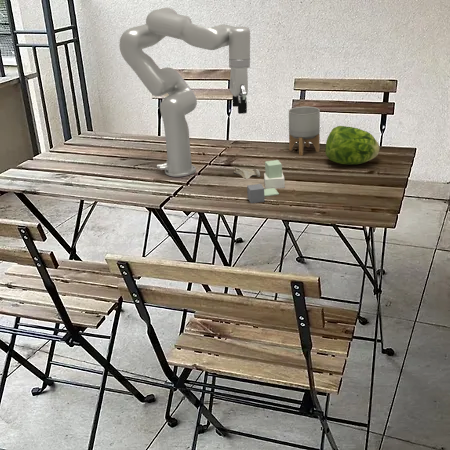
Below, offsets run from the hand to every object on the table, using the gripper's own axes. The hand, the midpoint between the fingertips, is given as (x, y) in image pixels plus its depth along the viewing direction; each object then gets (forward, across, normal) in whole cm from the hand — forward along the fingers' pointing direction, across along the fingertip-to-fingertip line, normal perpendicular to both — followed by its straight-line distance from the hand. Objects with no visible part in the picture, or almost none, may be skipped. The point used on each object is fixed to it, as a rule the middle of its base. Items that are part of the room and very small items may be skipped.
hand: (239, 109), depth 233 cm
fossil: (+28, -3, +4) cm, 28 cm away
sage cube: (+23, +11, +11) cm, 27 cm away
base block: (+27, +11, +11) cm, 31 cm away
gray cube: (+27, +23, +1) cm, 35 cm away
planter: (+27, -24, +34) cm, 49 cm away
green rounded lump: (+26, -2, +47) cm, 54 cm away
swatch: (+26, +18, +7) cm, 33 cm away
